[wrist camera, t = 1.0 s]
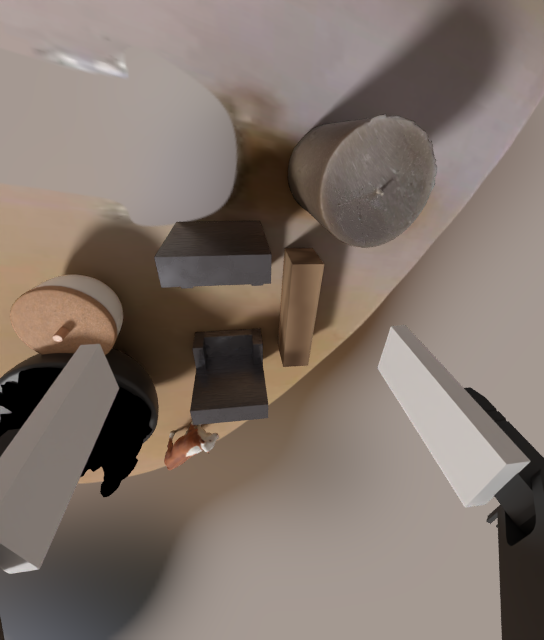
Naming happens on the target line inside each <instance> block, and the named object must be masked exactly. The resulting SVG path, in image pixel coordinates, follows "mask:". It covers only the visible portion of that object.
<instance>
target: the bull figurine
mask: <svg viewBox="0 0 544 640" xmlns="http://www.w3.org/2000/svg"><path fill="white" fill-rule="evenodd" d="M194 426H195V425H193V422H191V425H190V427H189V430H188V431H187V432H186V434H185V435H184V436H182V437H180V438H179V439H178V440H177V441H176V442H175V443H174V446H173V443H172V439H173V436H174V434H175V432H174V431H172V432H171V433H170V436H169V437H170V439H169V442H168V445H167V447H168V450H167V452H166V455H165V460H164V462H165V465H166V466H167V468H168V470H172V469H173V468H176V467H178V466H179V465H181V464H183V463H184V462H185V461H186V460H187V459H189V458H190V457H192V456H193V455H195V454H197V453H199V452H201V451H202V450H204V451H205V452H208V453H209V451H210V450H211V449H212V448H213V446H214V444H215V442H216V440H217V439H218V438H219V435H218V434H217V433H213V434H211V433H206V431H205V430H204V429H203V428H202V427H201V424H199V425H197V426H198V427H197V428H196V429H194Z"/></svg>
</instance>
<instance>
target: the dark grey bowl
mask: <svg viewBox="0 0 544 640" xmlns="http://www.w3.org/2000/svg"><path fill="white" fill-rule="evenodd" d="M73 355H74V353H52V354H44V355H42V354H40V353H39V354H37V355H35V356H32V357H30V358H28V359H27V360H25V361H23V362H21V363H20V364H18V365H16V366H15V367H14V368H12V369H11V370H9V371H8V372H7V373H6V374H4V375H3V376H2V377H1V378H0V437H1V436H2V435H3V434H4V433H6V432H7V431H8V430H14V429H21V427H22V426H23V425H24V423H25V422H26V421H27V419H28V418H29V416H30V415H31V414H32V412H33V411H34V409H35V408H36V407H37V405H38V404H39V402H40V401H41V400H42V398H43V397H44V395H45V394H46V393H47V391H48V390H49V388H50V387H51V386H52V384H53V383H54V381H55V380H56V379H57V377H58V376H59V374H60V373H61V372H62V370H63V369H64V367H65V366H66V365H67V363H68V362H69V360H70V359H71V358H72V356H73ZM105 357H106V359H107V361H108V364H109V366H110V368H111V370H112V373H113V375H114V377H115V380H116V382H117V384H118V386H119V390H118V392H117V395H116V397H115V399H114V401H113V404H112V406H111V408H110V410H109V413H108V415H107V417H106V419H105V422H104V424H103V426H102V429H101V431H100V433H99V435H98V438H97V440H96V442H95V444H94V447H93V449H92V451H91V454H90V456H89V458H88V460H87V463H86V465H85V467H84V469H83V472H82V474H81V476H80V477H82V476H84V474H85V472H86V471H87V470H88V469H91V470H92V471H93V472H94V471H95V470H97V469H99V468H100V467H101V466H102V468H103V471H104V481H103V482H102V484H101V491H100V492H101V494H102V496H103V497H107V496H110V495H111V494H112V493H113V492H114V491H115V490H116V489H117V488H118V487H119V485H120V483H121V481H122V480H123V479H125V478H126V477H127V476H128V475H129V474H130V473H131V471H132V470H133V469H134V467H135V466H136V464H137V462H138V460H137V459H136V456H137V455H138V453H139V451H140V449H141V447H142V444H143V443H144V442H145V441H146V440H147V439H148V438H149V437H150V436H151V435H152V433H153V432H154V430H155V428H156V425H157V420H158V398H157V393H156V390H155V387H154V384H153V382H152V380H151V378H150V377H149V375H148V373H147V372H146V371H145V370H144V368H143V367H142V366H141V365H140V364H139V363H137V362H136V361H135V360H134V359H132V358H131V357H129V356H128V355H126V354H124V353H122V352H120V351H118V350H115V349H111V350H110V351H109V353H108V354H106V355H105Z"/></svg>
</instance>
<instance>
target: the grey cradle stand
mask: <svg viewBox="0 0 544 640" xmlns="http://www.w3.org/2000/svg"><path fill="white" fill-rule="evenodd" d="M154 258H155V262H156V267H157V271H158V275H159V279H160V284H161V287H181V288H193V287H194V286H215V285H242V284H251V285H252V286H257V285H263V284H269V283H271V252H270V249H269V246H268V243H267V240H266V237H265V234H264V231H263V228H262V225H261V222H260V221H216V222H176V223H175V225H174V227H173V228H172V230H171V231H170V233H169V235H168V236H167V238H166V239H165V241H164V243H163V244H162V246H161V247H160V249H159V251H158V252H157V254H156V255H155V257H154ZM193 354H194V359H195V364H196V375H195V382H194V388H193V395H192V402H191V409H190V413H191V417H192V422H193V425H199V424H210V423H220V422H231V421H241V420H252V419H262V418H268V399H267V392H266V385H265V378H264V371H263V343H262V336H261V330H260V329H245V330H227V331H209V332H195V337H194V343H193Z"/></svg>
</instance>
